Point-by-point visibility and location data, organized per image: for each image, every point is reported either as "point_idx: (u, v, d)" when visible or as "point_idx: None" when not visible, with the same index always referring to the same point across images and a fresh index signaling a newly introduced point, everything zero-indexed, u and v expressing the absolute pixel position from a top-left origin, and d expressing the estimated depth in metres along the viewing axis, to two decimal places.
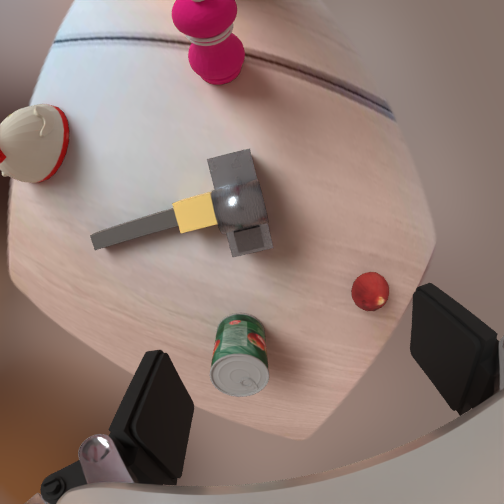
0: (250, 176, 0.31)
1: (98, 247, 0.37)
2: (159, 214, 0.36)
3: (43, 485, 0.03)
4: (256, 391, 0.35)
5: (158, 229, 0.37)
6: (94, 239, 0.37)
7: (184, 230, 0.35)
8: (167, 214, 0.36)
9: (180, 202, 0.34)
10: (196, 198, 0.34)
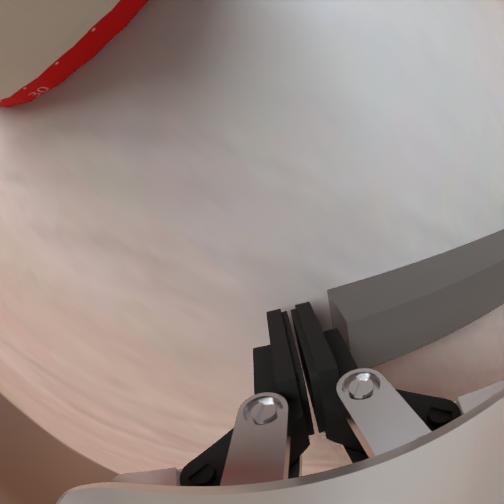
0: None
1: (371, 362, 0.09)
2: None
3: (189, 477, 0.04)
4: None
5: None
6: (364, 336, 0.09)
7: None
8: None
9: None
10: None
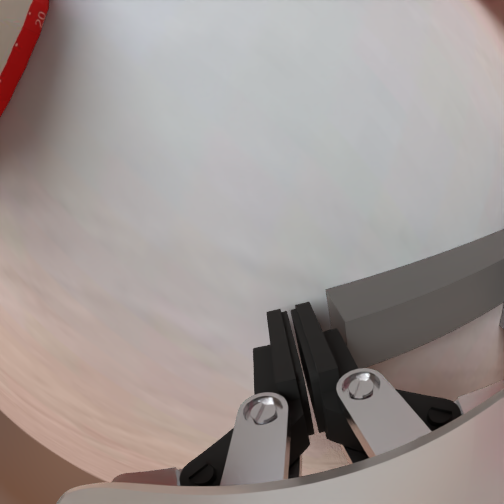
0: None
1: (369, 361, 0.09)
2: None
3: (189, 477, 0.04)
4: None
5: None
6: (361, 336, 0.09)
7: None
8: None
9: None
10: None
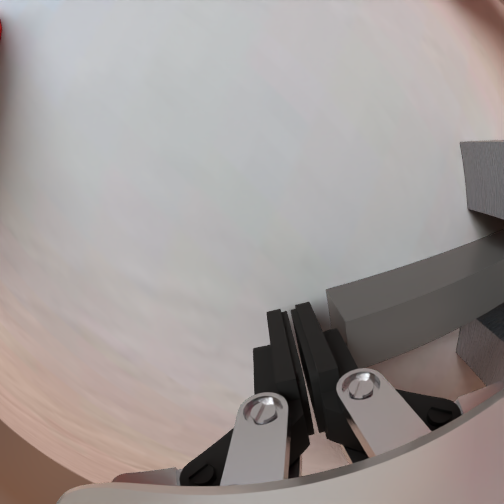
0: None
1: (369, 361, 0.09)
2: None
3: (189, 477, 0.04)
4: None
5: None
6: (362, 335, 0.09)
7: None
8: None
9: None
10: None
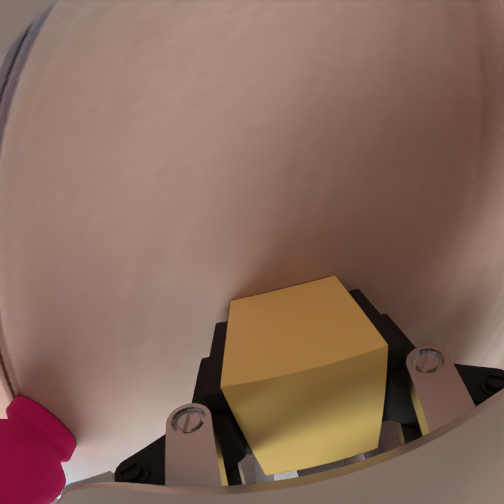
0: None
1: None
2: None
3: (121, 472, 0.04)
4: None
5: None
6: None
7: (371, 442, 0.07)
8: None
9: (263, 462, 0.07)
10: (248, 428, 0.06)
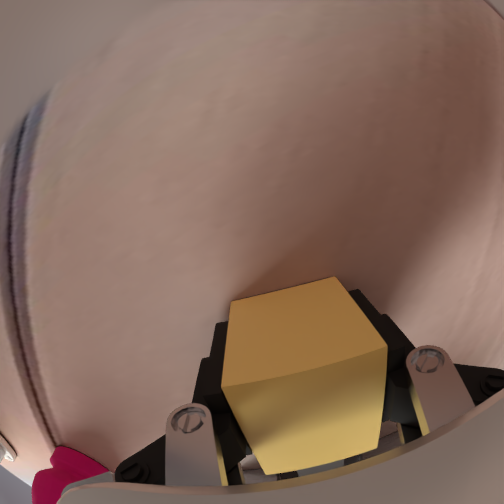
0: None
1: None
2: None
3: (121, 472, 0.04)
4: None
5: None
6: None
7: (371, 442, 0.07)
8: None
9: (263, 461, 0.07)
10: (249, 428, 0.06)
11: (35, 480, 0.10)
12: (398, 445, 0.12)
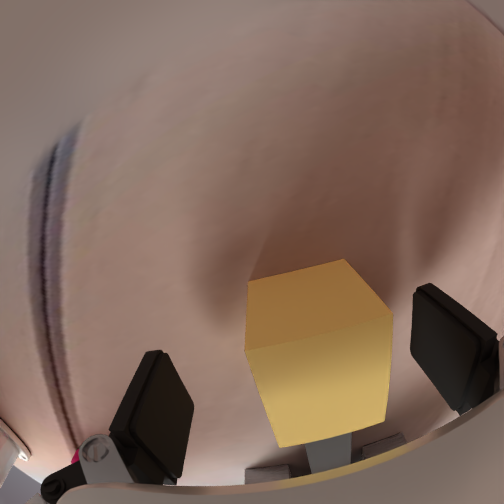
0: None
1: None
2: None
3: (43, 485, 0.03)
4: None
5: (346, 436, 0.11)
6: None
7: (379, 414, 0.08)
8: None
9: (278, 432, 0.08)
10: (267, 394, 0.07)
11: None
12: (397, 446, 0.14)
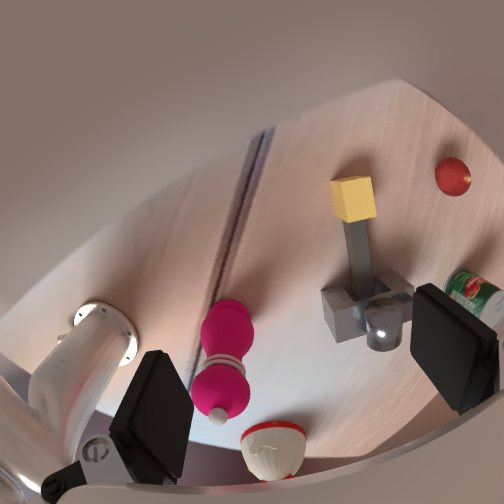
0: (357, 309, 0.33)
1: None
2: (352, 239, 0.35)
3: (43, 485, 0.03)
4: None
5: (366, 241, 0.35)
6: None
7: (374, 212, 0.32)
8: (353, 230, 0.34)
9: (347, 214, 0.32)
10: (345, 196, 0.31)
11: (211, 316, 0.35)
12: (391, 273, 0.38)
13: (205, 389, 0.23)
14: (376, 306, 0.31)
